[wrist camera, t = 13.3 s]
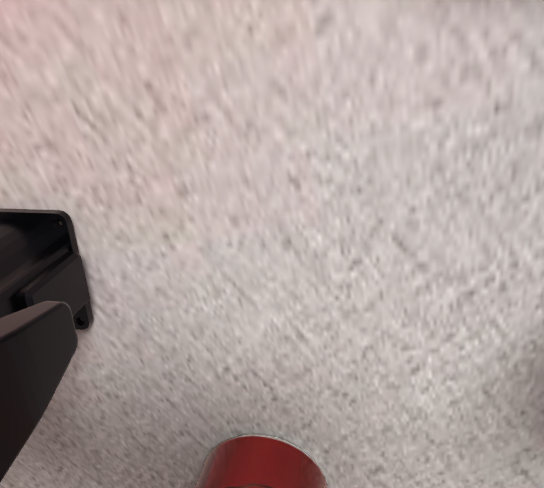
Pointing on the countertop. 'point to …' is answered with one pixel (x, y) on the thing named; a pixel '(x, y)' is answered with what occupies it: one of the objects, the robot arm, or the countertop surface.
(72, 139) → the countertop surface
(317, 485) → the soda can
